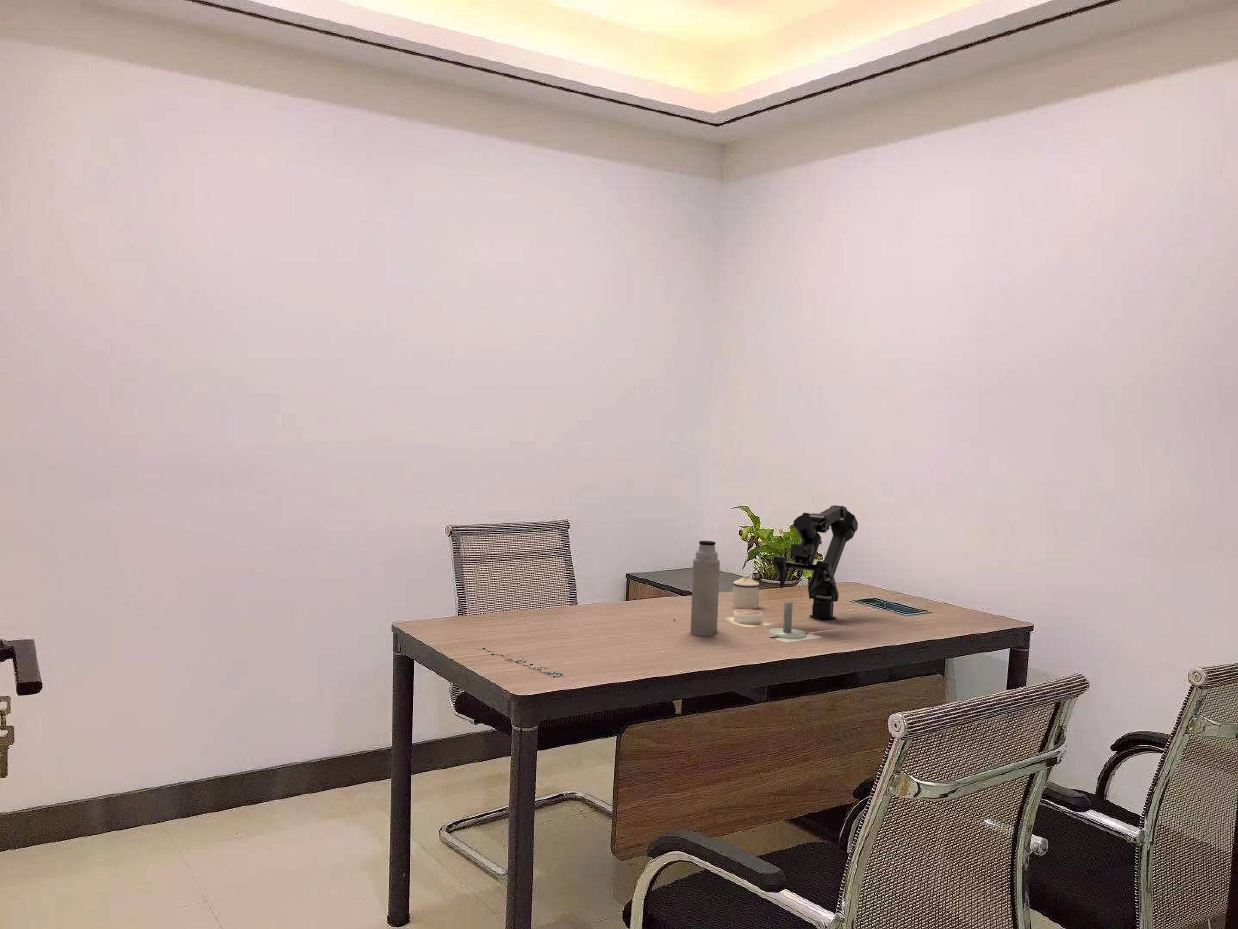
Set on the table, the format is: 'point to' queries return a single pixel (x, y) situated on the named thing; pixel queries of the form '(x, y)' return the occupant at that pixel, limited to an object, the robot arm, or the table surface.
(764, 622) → the board
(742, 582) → the teacup with lid
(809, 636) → the mat
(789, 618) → the lid
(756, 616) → the bowl
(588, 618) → the table surface
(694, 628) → the thermos bottle
